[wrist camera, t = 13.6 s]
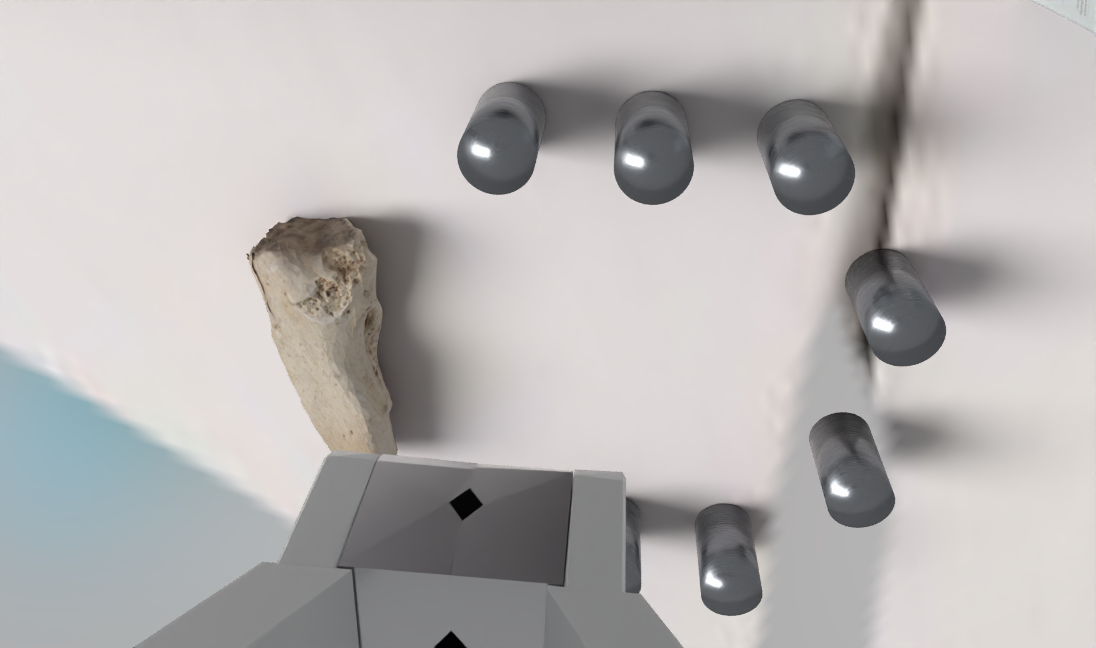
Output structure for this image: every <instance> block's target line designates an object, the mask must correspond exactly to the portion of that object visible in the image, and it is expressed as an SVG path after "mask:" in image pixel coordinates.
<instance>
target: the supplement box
mask: <svg viewBox="0 0 1096 648" xmlns="http://www.w3.org/2000/svg"><path fill="white" fill-rule="evenodd" d="M1033 1H1034V2H1035V3H1037V4H1039V5H1041V6H1043V7H1045V8H1047V9H1049V10H1051V11H1053V12H1055V13H1057V14H1059V15H1061V16H1063V17H1065V18H1067V19H1068V20H1070V21H1072V22H1074V23H1076V24H1078V25H1080V26H1082V27H1084V28H1086V29H1088V30H1089V31H1091V32H1093V33H1095V34H1096V0H1033Z"/></svg>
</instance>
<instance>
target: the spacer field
mask: <svg viewBox="0 0 1096 648" xmlns="http://www.w3.org/2000/svg"><path fill="white" fill-rule="evenodd" d="M545 120H546V116H545V110H544V106H543V104H542V102H541V100H540V98H539V97H538V96H537V95H536V94H535V93H534V92H533V91H532V90H531V89H530V88H528V87H526V86H524V85H522V84H518V83H513V82H505V83H500V84H497V85H495V86H493V87H491V88H489V89H488V90H487V91H486V92H485V93H484V94H483V95H482V97H481V98H480V100H479V102H478V104H477V106H476V108H475V111H474V113H473V115H472V117H471V119H470V121H469V123H468V125H467V128H466V130H465V132H464V134H463V136H462V138H461V140H460V143H459V146H458V151H457V158H458V164H459V167H460V170H461V172H462V174H463V176H464V177H465V178H466V180H467V181H468V182H469V183H470V184H471V185H472V186H474V187H475V188H477V189H479V190H481V191H483V192H485V193H489V194H495V195H502V194H508V193H511V192H514V191H516V190H518V189H520V188H521V187H522V186H524V185H525V184H526V183H527V181H528V180H529V179H530V177H531V175H532V173H533V171H534V167H535V163H536V159H537V155H538V151H539V147H540V142H541V138H542V134H543V130H544V126H545ZM757 142H758V147H759V149H760V152H761V155H762V158H763V161H764V164H765V166H766V169H767V172H768V175H769V178H770V180H771V183H772V186H773V189H774V192H775V194H776V196H777V198H778V200H779V201H780V203H781V204H782V205H783V206H785V207H786V208H787V209H789V210H791V211H793V212H795V213H798V214H803V215H816V214H821V213H824V212H827V211H829V210H831V209H833V208H835V207H836V206H838V205H839V204H840V203H841V202H842V201H843V200H844V199H845V198H846V197H847V195H848V194H849V192H850V191H851V188H852V186H853V183H854V178H855V168H854V164H853V161H852V159H851V157H850V155H849V153H848V152H847V150H846V148H845V147H844V145H843V143H842V142H841V140H840V138H839V136H838V135H837V133H836V131H835V130H834V128H833V126H832V125H831V123H830V121H829V120H828V118H827V116H826V115H825V113H824V112H823V111H822V109H821V108H819V107H818V106H817V105H815V104H814V103H811V102H809V101H805V100H789V101H785V102H782V103H780V104H778V105H776V106H775V107H773V108H772V109H771V110H770V111H769V112H768V113H767V114H766V115H765V116H764V118H763V119H762V121H761V123H760V125H759V128H758V132H757ZM693 171H694V162H693V156H692V150H691V144H690V138H689V132H688V126H687V121H686V116H685V113H684V110H683V108H682V106H681V105H680V104H679V103H678V101H677V100H676V99H674V98H673V97H672V96H670V95H668V94H666V93H663V92H659V91H645V92H641V93H639V94H636V95H634V96H633V97H631V98H630V99H628V100H627V101H626V102H625V103H624V105H623V106H622V107H621V109H620V111H619V113H618V115H617V119H616V130H615V156H614V174H615V178H616V181H617V183H618V185H619V187H620V189H621V190H622V191H623V192H624V193H625V194H626V195H627V196H628V197H629V198H631V199H633V200H634V201H637V202H639V203H643V204H648V205H657V204H663V203H666V202H669V201H671V200H673V199H675V198H676V197H678V196H679V195H680V194H681V193H683V191H684V190H685V189H686V188H687V186H688V185H689V183H690V181H691V178H692V176H693ZM845 286H846V290H847V293H848V295H849V297H850V300H851V302H852V304H853V307H854V309H855V311H856V314H857V316H858V318H859V321H860V323H861V325H862V328H863V330H864V332H865V335H866V337H867V339H868V342H869V344H870V346H871V349H872V351H873V353H874V354H875V355H876V356H877V357H878V358H879V359H880V360H881V361H883V362H885V363H887V364H890V365H894V366H911V365H915V364H919V363H921V362H923V361H925V360H927V359H929V358H930V357H932V356H933V355H934V354H935V353H936V352H937V351H938V350H939V348H940V347H941V346H942V344H943V342H944V339H945V335H946V325H945V322H944V320H943V318H942V316H941V314H940V313H939V311H938V309H937V307H936V306H935V304H934V302H933V301H932V299H931V297H930V296H929V294H928V292H927V290H926V289H925V287H924V285H923V284H922V282H921V280H920V278H919V277H918V275H917V273H916V272H915V270H914V268H913V267H912V265H911V263H910V262H909V260H908V259H907V258H906V257H905V256H904V255H902V254H901V253H899V252H896V251H893V250H888V249H880V250H874V251H871V252H868V253H866V254H864V255H862V256H860V257H859V258H858V259H857V260H856V261H854V262H853V264H852V265H851V266H850V268H849V270H848V272H847V274H846V279H845ZM809 441H810V446H811V449H812V453H813V457H814V460H815V464H816V467H817V471H818V475H819V479H820V482H821V485H822V489H823V493H824V497H825V500H826V504H827V507H828V511H829V513H830V515H831V517H832V518H833V519H834V520H835V521H837V522H838V523H840V524H842V525H845V526H848V527H856V528H860V527H868V526H871V525H874V524H877V523H879V522H881V521H882V520H884V519H885V518H886V517H887V516H888V515H889V514H890V513H891V511H892V510H893V507H894V504H895V496H894V493H893V490H892V487H891V485H890V482H889V479H888V477H887V474H886V471H885V469H884V466H883V463H882V461H881V458H880V455H879V452H878V450H877V447H876V444H875V442H874V439H873V436H872V434H871V431H870V428H869V426H868V424H867V423H866V421H865V420H864V419H862V418H861V417H859V416H857V415H855V414H852V413H845V412H844V413H842V412H841V413H834V414H830V415H827V416H825V417H823V418H822V419H820V420H819V421H818V422H817V423H816V424H815V425H814V426H813V428H812V429H811V432H810V436H809ZM695 531H696V543H697V554H698V565H699V576H700V587H701V598H702V601H703V603H704V604H705V606H706V607H707V608H709V609H710V610H711V611H713V612H715V613H718V614H721V615H727V616H736V615H741V614H745V613H747V612H749V611H751V610H753V609H754V608H755V607H756V606H757V605H758V604H759V603H760V601H761V599H762V587H761V581H760V575H759V569H758V563H757V557H756V551H755V545H754V538H753V532H752V526H751V521H750V518H749V516H748V514H747V513H746V512H745V511H744V510H743V509H741V508H739V507H737V506H735V505H731V504H716V505H712V506H710V507H708V508H706V509H704V510H703V511H702V512H701V513H700V514H699V515H698V516H697V518H696V521H695ZM640 589H641V542H640V512H639V509H638V507H637V506H636V505H635V504H634V503H633V502H632V501H631V500H629V499H627V498H626V548H625V592H626V593H637V594H639V592H640Z"/></svg>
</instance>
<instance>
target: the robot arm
mask: <svg viewBox="0 0 1096 648" xmlns="http://www.w3.org/2000/svg"><path fill="white" fill-rule="evenodd" d="M572 483H573V489H572ZM571 500H572V502H571ZM625 548H626V478H625V476H624V474H623V472H609V471H591V470H575V472H574V477H573V471H569V470H555V469H541V468H527V467H514V466H500V465H486V464H477V463H467V462H457V461H447V460H437V459H427V458H418V457H408V456H398V455H388V454H382V455H378V454H371V453H360V452H350V451H339V450H334V451H332V452H331V453H330V454H329V455H328V456H327V457H326V458H325V459H324V461H323V463H322V465H321V467H320V470H319V472H318V474H317V476H316V478H315V481H314V483H313V485H312V487H311V489H310V491H309V494H308V496H307V498H306V500H305V502H304V505H303V507H302V509H301V511H300V513H299V516H298V518H297V520H296V522H295V524H294V527H293V529H292V531H291V533H290V535H289V537H288V540H287V542H286V544H285V547H284V548H283V551H282V553H281V555H280V557H279V560H278V562H277V563H269V562H261V563H260V564H258V565H257V566H255V567H254V568H252V569H251V570H249V571H248V572H246V573H245V574H243V575H242V576H240V577H239V578H237V579H236V580H234V581H233V582H231V583H230V584H228V585H227V586H225V587H224V588H222V589H221V590H219V591H218V592H216V593H215V594H213V595H212V596H210V597H209V598H207V599H206V600H204V601H203V602H201V603H200V604H198V605H197V606H195V607H194V608H192V609H191V610H189V611H188V612H186V613H185V614H183V615H182V616H180V617H179V618H177V619H176V620H174V621H172V622H171V623H169V624H168V625H166V626H165V627H163V628H162V629H161V630H159V631H158V632H156V633H155V634H153V635H151V636H150V637H148V638H147V639H145V640H144V641H143V642H141V643H139V644H138V645H137V646H135V647H133V648H683V646H682V645H681V644H680V643H679V641H678V640H677V639H676V638H675V636H674V635H673V634H672V633H671V631H670V630H669V629H668V628H667V626H666V625H665V624H664V623H663V621H662V620H661V619H660V618H659V616H658V615H657V614H656V613H655V611H654V610H653V609H652V608H651V606H650V605H649V604H648V603H647V601H646V600H645V599H644V598H643V596H642V595H641V594H637V593H626V592H625Z"/></svg>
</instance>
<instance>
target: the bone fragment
mask: <svg viewBox="0 0 1096 648" xmlns="http://www.w3.org/2000/svg"><path fill="white" fill-rule="evenodd" d="M247 255H248V257H247V259H248V260H249V263H250V266H251V269H252V272H253V274H254V277H255V279H256V281H257V284H258V286H259V289H260V291H261V294H262V296H263V299H264V302H265V305H266V308H267V312H268V314H269V317H270V321H271V332H272V339H273V341H274V343H275V345H276V347H277V349H278V353H279V355H280V357H281V360H282V362H283V364H284V366H285V368H286V370H287V373H288V375H289V378H290V380H291V382H292V383H293V385H294V387H295V389H296V391H297V393H298V395H299V396H300V398H301V403H302V406H303V408H304V409H305V411H306V412H307V414H308V415H309V417H310V419H311V421H312V423H313V425H314V427H315V428H316V430H317V431H318V433H319V434H320V435H321V437H322V438H323V440H324V442H325V443H326V444H327V445H328V448H329V449H330V450H331V451H334V450H339V451H350V452H360V453H371V454H378V455H382V454H388V455H397V447H396V443H395V440H394V436H393V431H392V423H391V421H390V417H389V412H390V411H391V408H392V401H391V398H390V394H389V391H388V389H387V387H386V385H385V383H384V380H383V375H382V374H381V370H380V368H379V365H378V359H377V346H378V340H379V334H380V330H381V326H382V317H383V314H382V306H381V305H380V303H379V301H378V299H377V296H376V271H377V261H378V260H377V259H378V258H377V257H376V256H375V255H374V254H372V253H371V251H370V250H369V249H368V245H367V243H366V239H365V237H364V235H363V233H362V230H361V229H358V228H355V227H354V225H352V224H351V222H350V221H349V219H347V218H339V219H337V218H330V219H327V220H324V219H305V218H299V217H295V218H293V219H291V220H289V221H288V222H286V223H279V222H278V223H277V225H275V226H274V227H273V228H272V229H269V232H268V233H266V238H263V239H262V240H261V241H260V242H259V243H258V245H256V247H254V246H253V248H252V250H251V252H250V255H249V254H247Z"/></svg>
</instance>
